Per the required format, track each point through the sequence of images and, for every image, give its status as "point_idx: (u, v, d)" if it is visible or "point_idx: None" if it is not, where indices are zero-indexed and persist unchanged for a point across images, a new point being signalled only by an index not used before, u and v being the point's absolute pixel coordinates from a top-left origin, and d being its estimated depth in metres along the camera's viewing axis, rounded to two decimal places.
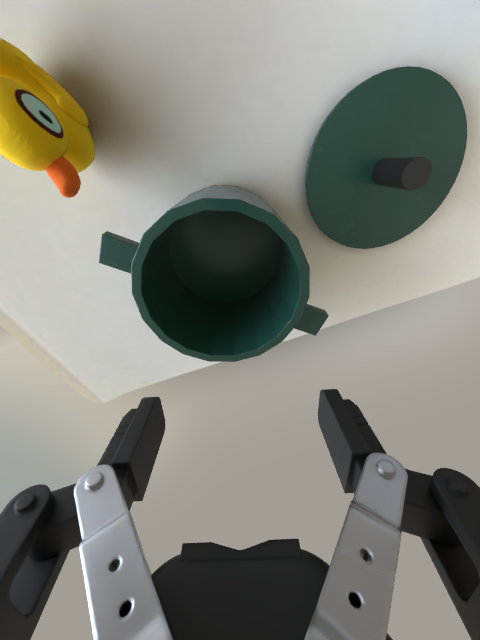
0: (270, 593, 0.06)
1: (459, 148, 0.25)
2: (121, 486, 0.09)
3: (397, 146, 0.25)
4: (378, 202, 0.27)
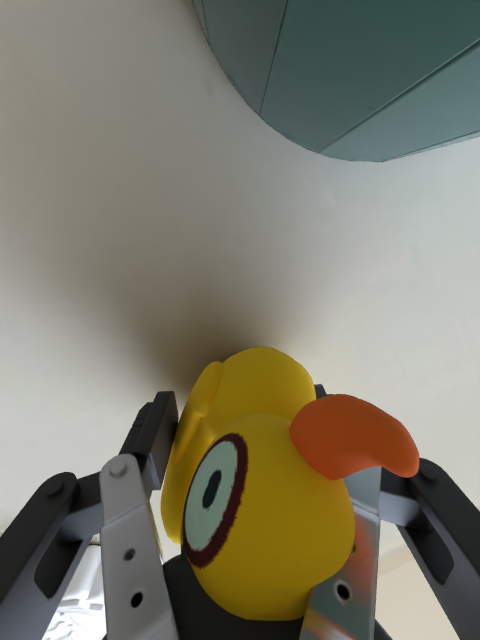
0: None
1: None
2: (143, 474, 0.09)
3: None
4: None
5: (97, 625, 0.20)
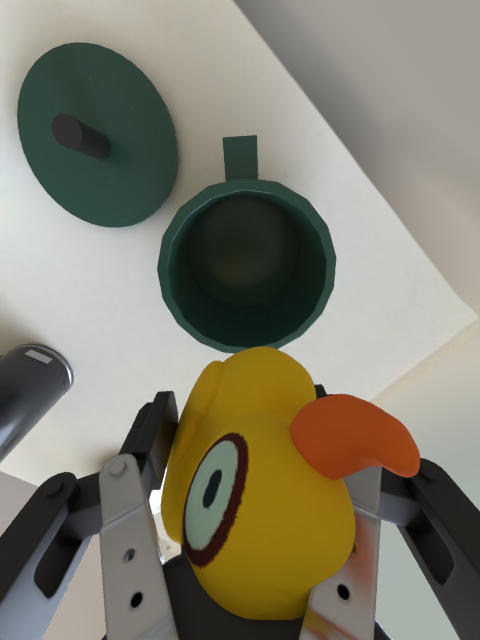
0: None
1: (34, 76, 0.24)
2: (142, 474, 0.09)
3: None
4: (120, 128, 0.25)
5: None
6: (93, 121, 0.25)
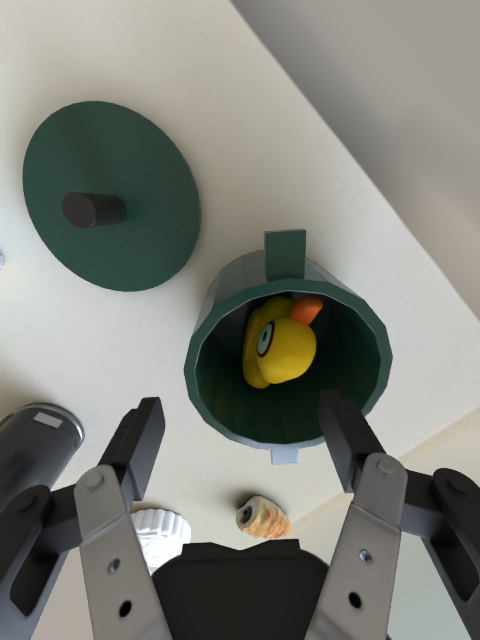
0: (270, 593, 0.06)
1: (41, 138, 0.21)
2: (121, 486, 0.09)
3: None
4: (137, 191, 0.23)
5: (164, 546, 0.42)
6: (106, 184, 0.22)
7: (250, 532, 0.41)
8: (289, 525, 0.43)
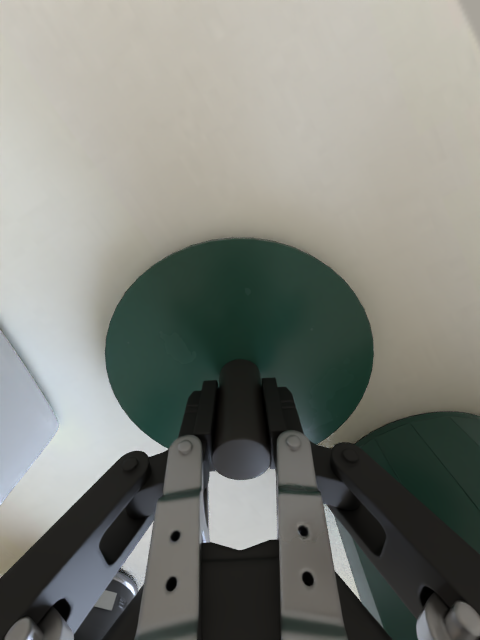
0: (270, 593, 0.06)
1: (147, 287, 0.13)
2: (205, 454, 0.10)
3: (202, 379, 0.15)
4: (283, 355, 0.15)
5: None
6: (237, 346, 0.14)
7: None
8: None
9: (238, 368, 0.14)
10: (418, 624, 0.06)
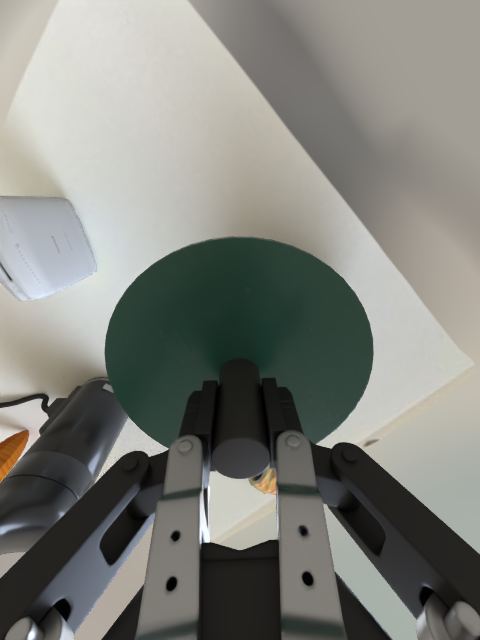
0: (270, 593, 0.06)
1: (146, 286, 0.13)
2: (205, 454, 0.10)
3: (202, 379, 0.15)
4: (283, 354, 0.15)
5: None
6: (237, 345, 0.14)
7: (260, 488, 0.51)
8: None
9: (238, 367, 0.14)
10: (418, 624, 0.06)
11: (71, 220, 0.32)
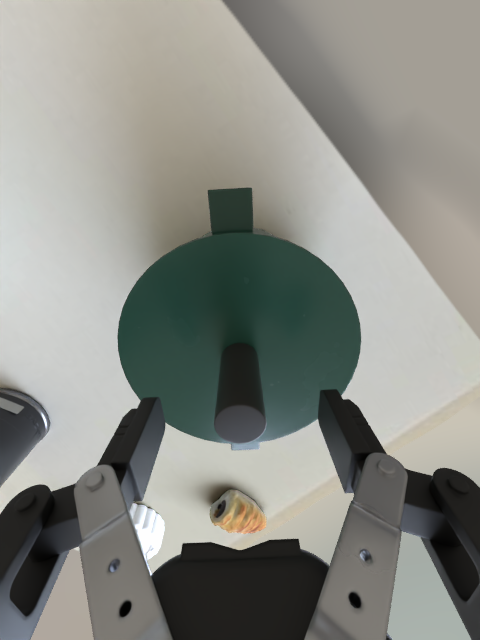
0: (270, 593, 0.06)
1: (156, 277, 0.14)
2: (121, 486, 0.09)
3: (205, 362, 0.17)
4: (278, 339, 0.16)
5: None
6: (237, 331, 0.16)
7: (223, 527, 0.39)
8: (265, 520, 0.41)
9: (238, 350, 0.15)
10: None
11: None
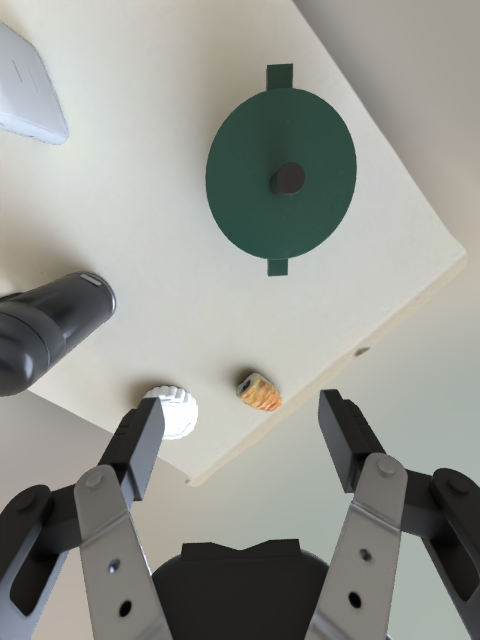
0: (270, 593, 0.06)
1: (235, 119, 0.24)
2: (121, 486, 0.09)
3: (259, 186, 0.27)
4: (305, 168, 0.26)
5: (176, 414, 0.50)
6: (280, 161, 0.26)
7: (248, 399, 0.49)
8: (281, 399, 0.51)
9: None
10: None
11: (38, 65, 0.30)
